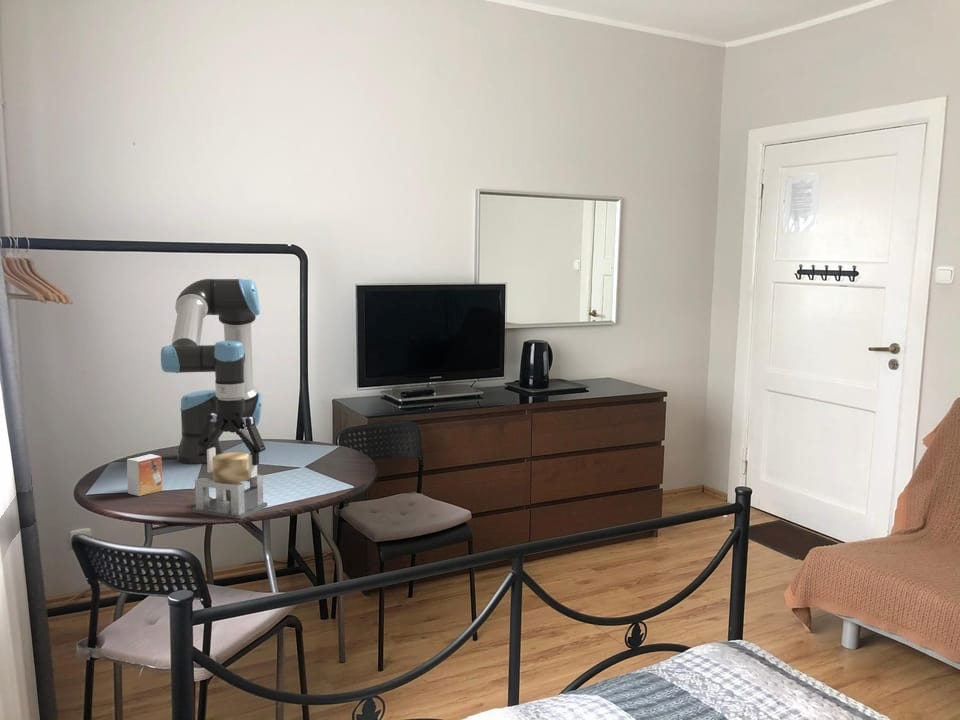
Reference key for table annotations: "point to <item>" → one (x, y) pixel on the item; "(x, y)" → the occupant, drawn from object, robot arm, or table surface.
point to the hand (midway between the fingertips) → (232, 474)
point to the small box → (144, 474)
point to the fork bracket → (240, 501)
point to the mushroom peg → (230, 469)
